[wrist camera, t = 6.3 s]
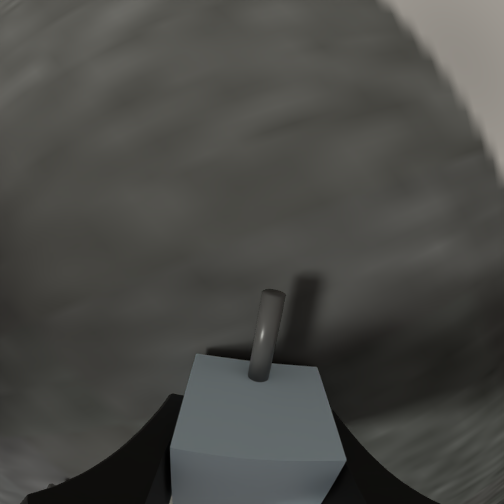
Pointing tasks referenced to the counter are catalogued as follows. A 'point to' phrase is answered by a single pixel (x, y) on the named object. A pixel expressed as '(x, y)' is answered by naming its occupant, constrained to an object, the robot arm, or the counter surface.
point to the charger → (255, 427)
